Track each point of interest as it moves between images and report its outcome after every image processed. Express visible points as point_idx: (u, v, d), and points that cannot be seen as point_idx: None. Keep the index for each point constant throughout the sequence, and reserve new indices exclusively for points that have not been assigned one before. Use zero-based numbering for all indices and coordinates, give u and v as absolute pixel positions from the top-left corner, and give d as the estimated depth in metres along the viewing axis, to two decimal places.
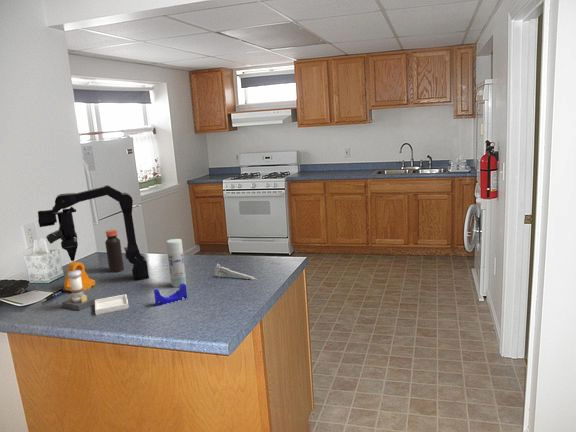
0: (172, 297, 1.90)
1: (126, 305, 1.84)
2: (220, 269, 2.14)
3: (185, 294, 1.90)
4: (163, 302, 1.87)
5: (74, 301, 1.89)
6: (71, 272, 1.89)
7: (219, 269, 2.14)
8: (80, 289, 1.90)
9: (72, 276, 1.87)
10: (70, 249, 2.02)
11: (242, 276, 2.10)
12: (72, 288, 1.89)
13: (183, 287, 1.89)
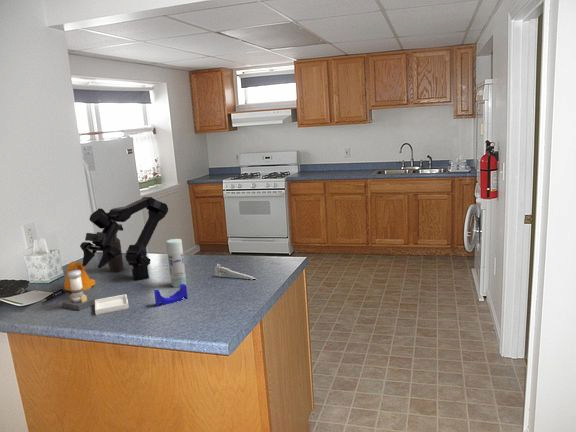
0: (172, 298, 1.89)
1: (126, 305, 1.84)
2: (220, 269, 2.14)
3: (185, 294, 1.90)
4: (163, 303, 1.86)
5: (74, 301, 1.89)
6: (71, 272, 1.89)
7: (219, 269, 2.14)
8: (80, 289, 1.90)
9: (72, 276, 1.87)
10: (106, 256, 1.96)
11: (242, 276, 2.10)
12: (72, 288, 1.89)
13: (183, 287, 1.89)
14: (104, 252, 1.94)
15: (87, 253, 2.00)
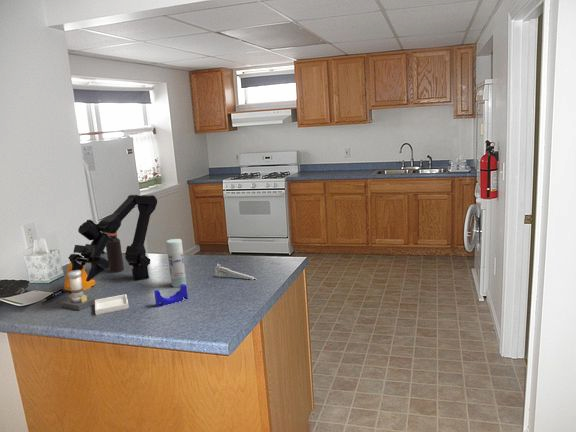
0: (172, 298, 1.89)
1: (126, 305, 1.84)
2: (220, 269, 2.14)
3: (186, 295, 1.89)
4: (164, 303, 1.85)
5: (74, 301, 1.89)
6: (71, 272, 1.89)
7: (219, 269, 2.14)
8: (80, 289, 1.90)
9: (72, 276, 1.87)
10: (95, 269, 1.91)
11: (242, 276, 2.10)
12: (72, 288, 1.89)
13: (184, 288, 1.88)
14: (93, 265, 1.90)
15: (76, 265, 1.96)
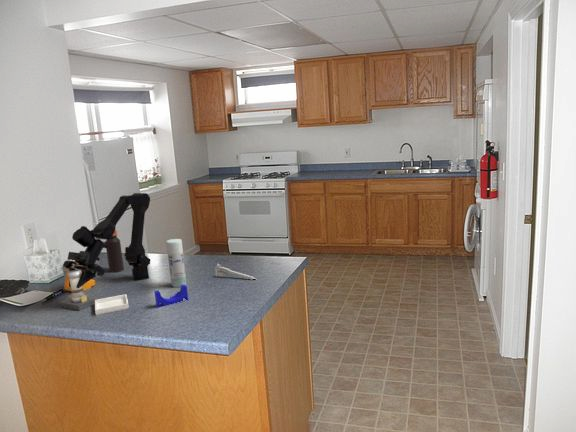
0: (173, 298, 1.88)
1: (126, 305, 1.84)
2: (220, 269, 2.14)
3: (186, 295, 1.89)
4: (164, 304, 1.85)
5: (74, 301, 1.89)
6: (71, 272, 1.89)
7: (219, 269, 2.14)
8: (80, 289, 1.90)
9: (72, 276, 1.87)
10: (85, 275, 1.90)
11: (242, 276, 2.10)
12: (72, 288, 1.89)
13: (184, 288, 1.88)
14: (83, 271, 1.88)
15: None
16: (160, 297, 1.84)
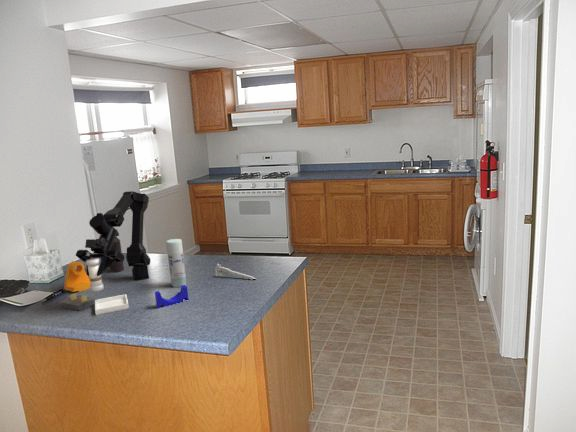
0: (173, 299, 1.88)
1: (126, 305, 1.84)
2: (220, 269, 2.14)
3: (186, 296, 1.88)
4: (164, 304, 1.84)
5: (94, 290, 1.85)
6: (90, 260, 1.84)
7: (219, 269, 2.14)
8: (100, 277, 1.86)
9: (92, 264, 1.83)
10: (105, 263, 1.86)
11: (242, 276, 2.10)
12: (92, 276, 1.84)
13: (184, 289, 1.87)
14: (103, 258, 1.85)
15: None
16: (160, 298, 1.83)
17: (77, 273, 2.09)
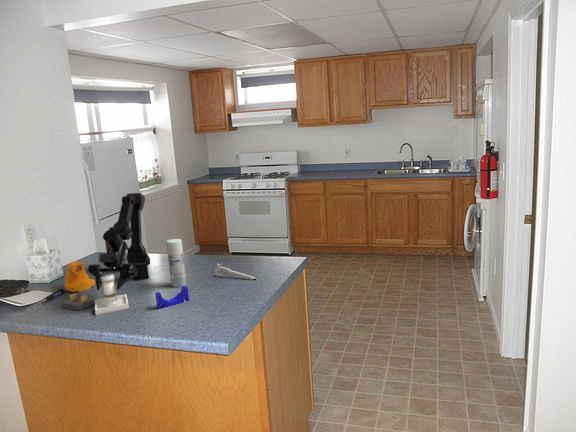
0: (173, 300, 1.87)
1: (126, 305, 1.84)
2: (221, 269, 2.14)
3: (187, 296, 1.87)
4: (165, 305, 1.83)
5: (109, 306, 1.86)
6: (105, 276, 1.85)
7: (220, 269, 2.14)
8: (115, 293, 1.87)
9: (108, 280, 1.84)
10: (123, 276, 1.87)
11: (242, 276, 2.10)
12: (107, 293, 1.85)
13: (185, 289, 1.87)
14: (122, 272, 1.86)
15: (99, 276, 1.88)
16: (161, 298, 1.82)
17: (77, 273, 2.09)
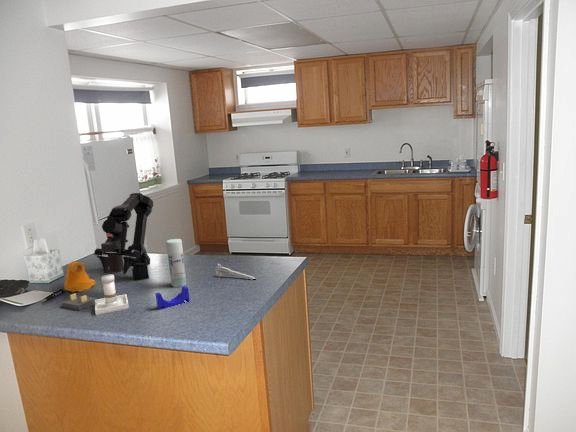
0: (174, 300, 1.86)
1: (126, 305, 1.84)
2: (221, 269, 2.14)
3: (187, 297, 1.87)
4: (165, 306, 1.83)
5: (109, 306, 1.86)
6: (105, 277, 1.85)
7: (220, 269, 2.14)
8: (115, 293, 1.87)
9: (108, 280, 1.84)
10: (128, 261, 1.98)
11: (243, 276, 2.10)
12: (107, 293, 1.85)
13: (185, 290, 1.86)
14: (125, 259, 1.96)
15: (104, 260, 2.00)
16: (161, 299, 1.82)
17: (77, 273, 2.09)
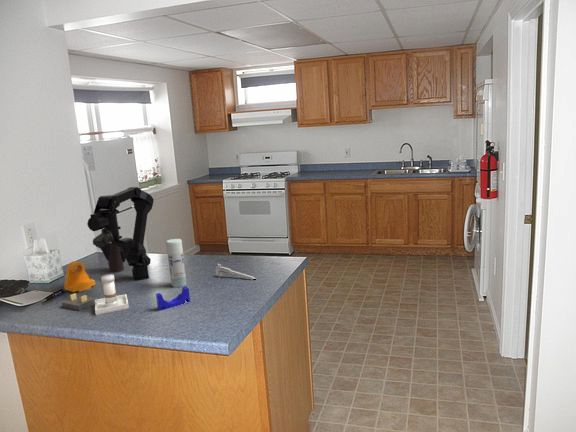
0: (174, 301, 1.85)
1: (126, 305, 1.84)
2: (221, 269, 2.14)
3: (188, 297, 1.86)
4: (166, 306, 1.82)
5: (109, 306, 1.86)
6: (105, 277, 1.85)
7: (220, 269, 2.14)
8: (115, 293, 1.87)
9: (108, 280, 1.84)
10: (123, 250, 2.00)
11: (243, 276, 2.10)
12: (107, 293, 1.85)
13: (186, 290, 1.85)
14: (120, 249, 1.98)
15: (104, 248, 2.05)
16: (162, 300, 1.81)
17: (77, 273, 2.09)
